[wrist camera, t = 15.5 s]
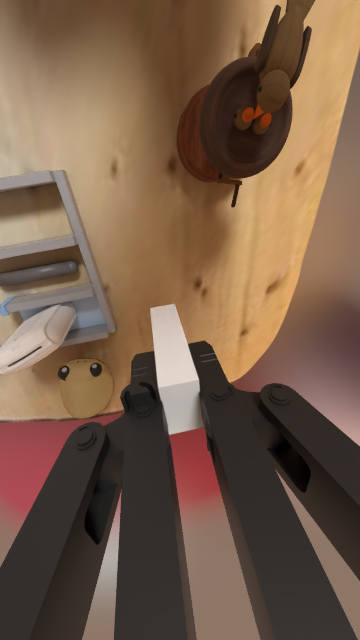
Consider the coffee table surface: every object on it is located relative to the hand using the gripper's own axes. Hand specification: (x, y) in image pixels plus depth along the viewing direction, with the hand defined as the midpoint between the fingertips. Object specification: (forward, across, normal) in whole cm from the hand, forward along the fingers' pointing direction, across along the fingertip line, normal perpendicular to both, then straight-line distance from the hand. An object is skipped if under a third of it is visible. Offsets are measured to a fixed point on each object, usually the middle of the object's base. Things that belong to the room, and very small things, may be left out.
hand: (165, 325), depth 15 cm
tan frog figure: (+28, -16, -23) cm, 40 cm away
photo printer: (+28, -20, -11) cm, 36 cm away
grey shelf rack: (+28, -17, -2) cm, 33 cm away
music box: (+29, +12, +12) cm, 33 cm away
